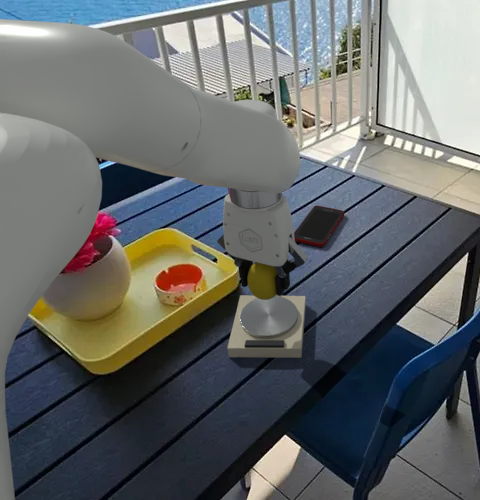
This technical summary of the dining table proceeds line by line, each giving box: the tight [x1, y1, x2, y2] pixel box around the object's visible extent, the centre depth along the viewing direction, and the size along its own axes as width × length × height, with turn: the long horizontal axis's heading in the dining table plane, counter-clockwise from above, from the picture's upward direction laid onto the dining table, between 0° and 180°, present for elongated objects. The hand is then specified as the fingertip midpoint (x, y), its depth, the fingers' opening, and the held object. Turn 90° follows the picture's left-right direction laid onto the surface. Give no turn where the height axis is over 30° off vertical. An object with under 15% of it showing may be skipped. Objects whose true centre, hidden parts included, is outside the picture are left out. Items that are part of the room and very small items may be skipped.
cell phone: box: [294, 205, 345, 248], centre depth 114 cm, size 8×15×1 cm, turn 162°
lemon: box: [247, 262, 278, 300], centre depth 81 cm, size 6×6×8 cm
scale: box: [227, 294, 307, 359], centre depth 87 cm, size 13×12×3 cm
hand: (265, 285), depth 82 cm, fingers closed on lemon, 5 cm apart
